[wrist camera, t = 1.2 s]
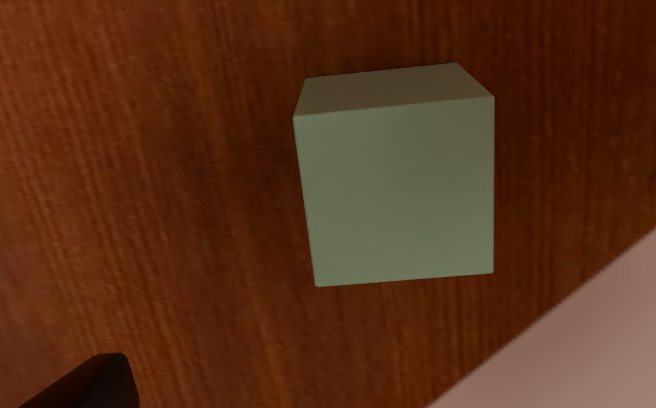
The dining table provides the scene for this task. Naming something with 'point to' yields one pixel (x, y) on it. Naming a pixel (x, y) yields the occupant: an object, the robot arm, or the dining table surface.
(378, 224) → the green block
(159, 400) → the dining table surface
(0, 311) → the dining table surface
